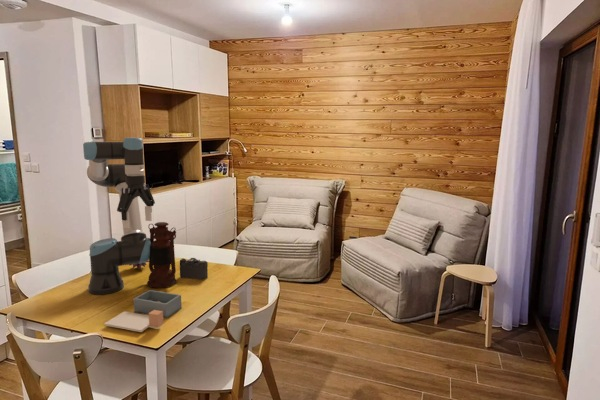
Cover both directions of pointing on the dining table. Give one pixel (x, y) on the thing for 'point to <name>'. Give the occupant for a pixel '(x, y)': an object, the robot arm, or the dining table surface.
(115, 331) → the dining table surface
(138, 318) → the lid
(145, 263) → the purple spiky ball
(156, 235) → the lantern
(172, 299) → the tub
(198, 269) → the camera
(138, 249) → the robot arm
